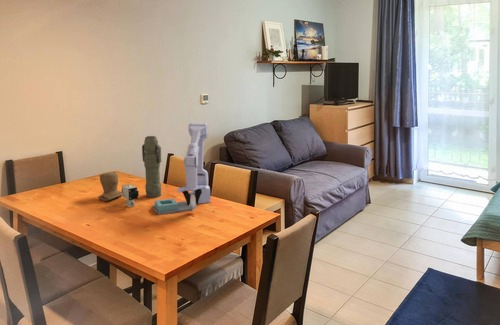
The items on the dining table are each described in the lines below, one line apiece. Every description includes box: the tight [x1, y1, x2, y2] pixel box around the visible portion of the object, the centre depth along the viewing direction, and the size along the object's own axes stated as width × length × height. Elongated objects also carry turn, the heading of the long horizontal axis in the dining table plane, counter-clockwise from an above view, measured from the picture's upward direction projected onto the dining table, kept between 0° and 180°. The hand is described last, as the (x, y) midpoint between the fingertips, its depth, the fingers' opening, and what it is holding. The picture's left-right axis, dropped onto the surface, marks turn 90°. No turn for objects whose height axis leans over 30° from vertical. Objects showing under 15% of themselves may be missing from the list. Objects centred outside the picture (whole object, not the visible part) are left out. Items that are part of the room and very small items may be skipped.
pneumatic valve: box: [121, 183, 139, 208], centre depth 230 cm, size 6×12×12 cm, turn 40°
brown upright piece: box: [97, 171, 123, 202], centre depth 243 cm, size 15×12×15 cm
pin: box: [188, 191, 197, 210], centre depth 218 cm, size 4×4×8 cm
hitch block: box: [151, 198, 193, 216], centre depth 225 cm, size 18×14×4 cm
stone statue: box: [141, 135, 162, 199], centre depth 245 cm, size 9×12×35 cm
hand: (192, 204), depth 218 cm, fingers closed on pin, 4 cm apart
